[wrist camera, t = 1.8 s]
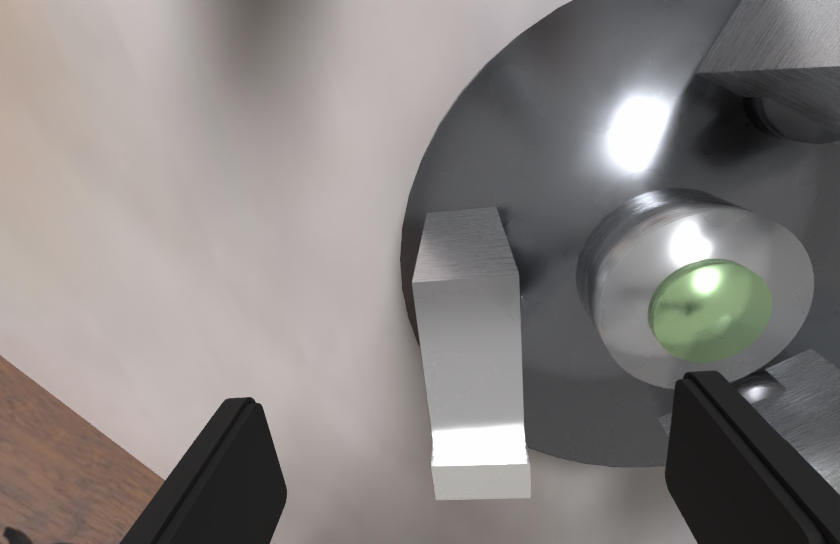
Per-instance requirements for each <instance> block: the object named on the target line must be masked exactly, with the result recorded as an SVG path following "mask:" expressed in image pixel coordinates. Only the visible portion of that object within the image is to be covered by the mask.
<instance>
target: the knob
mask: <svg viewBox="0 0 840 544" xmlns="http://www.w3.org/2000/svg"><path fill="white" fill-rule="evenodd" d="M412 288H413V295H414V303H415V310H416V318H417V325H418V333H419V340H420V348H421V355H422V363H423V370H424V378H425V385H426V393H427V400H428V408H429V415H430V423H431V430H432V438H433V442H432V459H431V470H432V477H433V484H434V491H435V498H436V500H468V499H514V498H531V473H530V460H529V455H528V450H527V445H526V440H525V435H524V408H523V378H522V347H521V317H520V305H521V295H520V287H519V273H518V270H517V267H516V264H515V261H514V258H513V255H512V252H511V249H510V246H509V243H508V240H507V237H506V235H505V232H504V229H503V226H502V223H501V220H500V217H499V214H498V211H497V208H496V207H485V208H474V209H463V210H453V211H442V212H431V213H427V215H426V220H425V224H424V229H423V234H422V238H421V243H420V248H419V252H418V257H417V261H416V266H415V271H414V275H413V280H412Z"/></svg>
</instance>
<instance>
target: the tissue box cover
mask: <svg viewBox="0 0 840 544" xmlns="http://www.w3.org/2000/svg"><path fill="white" fill-rule="evenodd" d="M164 482H165V480H164V479H162V478H161V477H160V476H158V475H157V474H156V473H154V472H153V471H152V470H150V469H149V468H148V467H146V466H145V465H144V464H142V463H141V462H140V461H139V460H137V459H136V458H135V457H133V456H132V455H131V454H129V453H128V452H127V451H125V450H124V449H123V448H121V447H120V446H119V445H117V444H116V443H115V442H114V441H112V440H111V439H110V438H108V437H107V436H106V435H104V434H103V433H102V432H100V431H99V430H98V429H96V428H95V427H94V426H92V425H91V424H90V423H89V422H87V421H86V420H85V419H83V418H82V417H81V416H79V415H78V414H77V413H75V412H74V411H73V410H71V409H70V408H69V407H67V406H66V405H65V404H64V403H62V402H61V401H60V400H58V399H57V398H56V397H54V396H53V395H52V394H50V393H49V392H48V391H46V390H45V389H44V388H42V387H41V386H40V385H39V384H37V383H36V382H35V381H33V380H32V379H31V378H29V377H28V376H27V375H25V374H24V373H23V372H21V371H20V370H19V369H17V368H16V367H15V366H14V365H12V364H11V363H10V362H8V361H7V360H6V359H4V358H3V357H2V356H0V544H119V543H120V542H121V541H122V539H123V538H124V536H125V535H126V534H127V532H128V531H129V530H130V528H131V527H132V526H133V524H134V523H135V521H136V520H137V519H138V517H139V516H140V515H141V513H142V512H143V511H144V509H145V508H146V506H147V505H148V504H149V502H150V501H151V500H152V498H153V497H154V496H155V494H156V493H157V491H158V490H159V489H160V487H161V486H162V485H163V483H164Z"/></svg>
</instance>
